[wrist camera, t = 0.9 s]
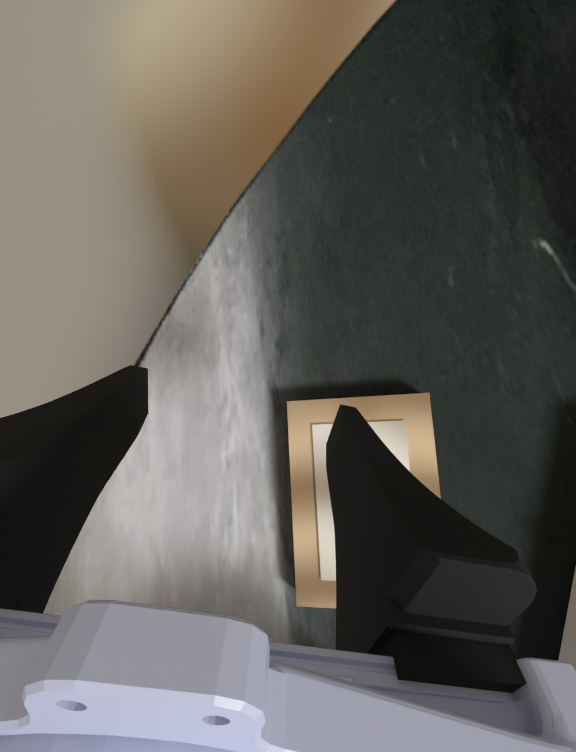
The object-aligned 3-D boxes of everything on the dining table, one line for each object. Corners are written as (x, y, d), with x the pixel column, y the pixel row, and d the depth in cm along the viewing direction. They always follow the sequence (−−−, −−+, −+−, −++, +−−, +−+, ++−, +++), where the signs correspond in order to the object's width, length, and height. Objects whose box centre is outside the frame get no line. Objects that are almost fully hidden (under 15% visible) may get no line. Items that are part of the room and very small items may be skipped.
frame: (443, 594, 23) (454, 616, 21) (301, 589, 25) (296, 608, 23) (422, 395, 25) (429, 392, 23) (292, 403, 27) (286, 401, 25)
